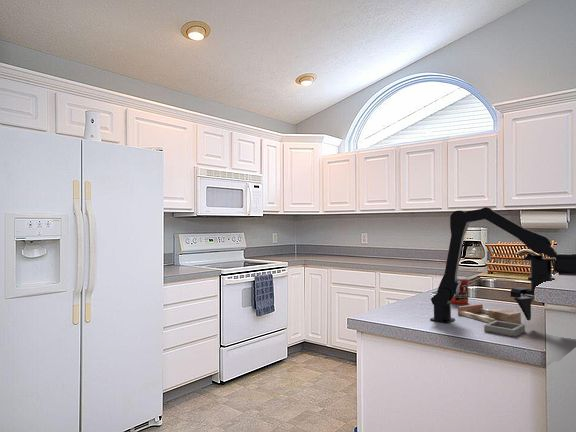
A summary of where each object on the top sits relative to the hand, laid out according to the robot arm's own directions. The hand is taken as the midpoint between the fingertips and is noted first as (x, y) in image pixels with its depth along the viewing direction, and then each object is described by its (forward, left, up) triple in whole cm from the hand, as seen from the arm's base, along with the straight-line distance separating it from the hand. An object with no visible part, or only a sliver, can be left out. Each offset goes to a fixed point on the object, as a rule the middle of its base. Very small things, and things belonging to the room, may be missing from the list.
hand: (542, 323), depth 131 cm
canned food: (+26, +40, -3) cm, 48 cm away
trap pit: (-8, +9, -3) cm, 12 cm away
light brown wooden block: (+5, +13, -3) cm, 14 cm away
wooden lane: (+7, +21, -3) cm, 22 cm away
